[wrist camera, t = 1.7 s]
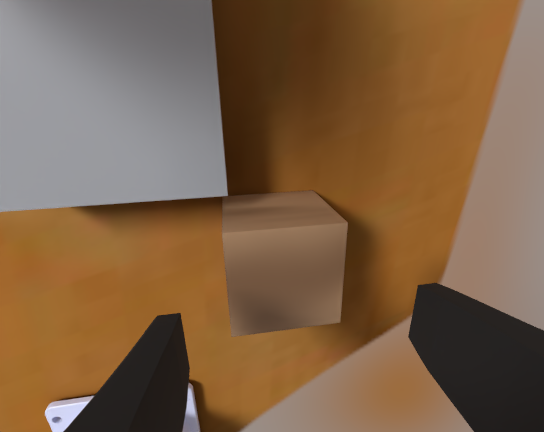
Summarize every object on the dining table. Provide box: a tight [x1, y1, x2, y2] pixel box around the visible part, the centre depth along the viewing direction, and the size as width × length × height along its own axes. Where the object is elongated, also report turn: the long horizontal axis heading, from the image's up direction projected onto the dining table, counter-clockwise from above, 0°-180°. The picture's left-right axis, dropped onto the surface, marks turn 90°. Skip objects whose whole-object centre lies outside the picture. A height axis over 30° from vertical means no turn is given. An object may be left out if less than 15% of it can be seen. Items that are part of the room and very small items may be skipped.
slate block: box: [0, 0, 228, 212], centre depth 11 cm, size 8×8×3 cm
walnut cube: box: [222, 190, 348, 337], centre depth 13 cm, size 4×4×4 cm
